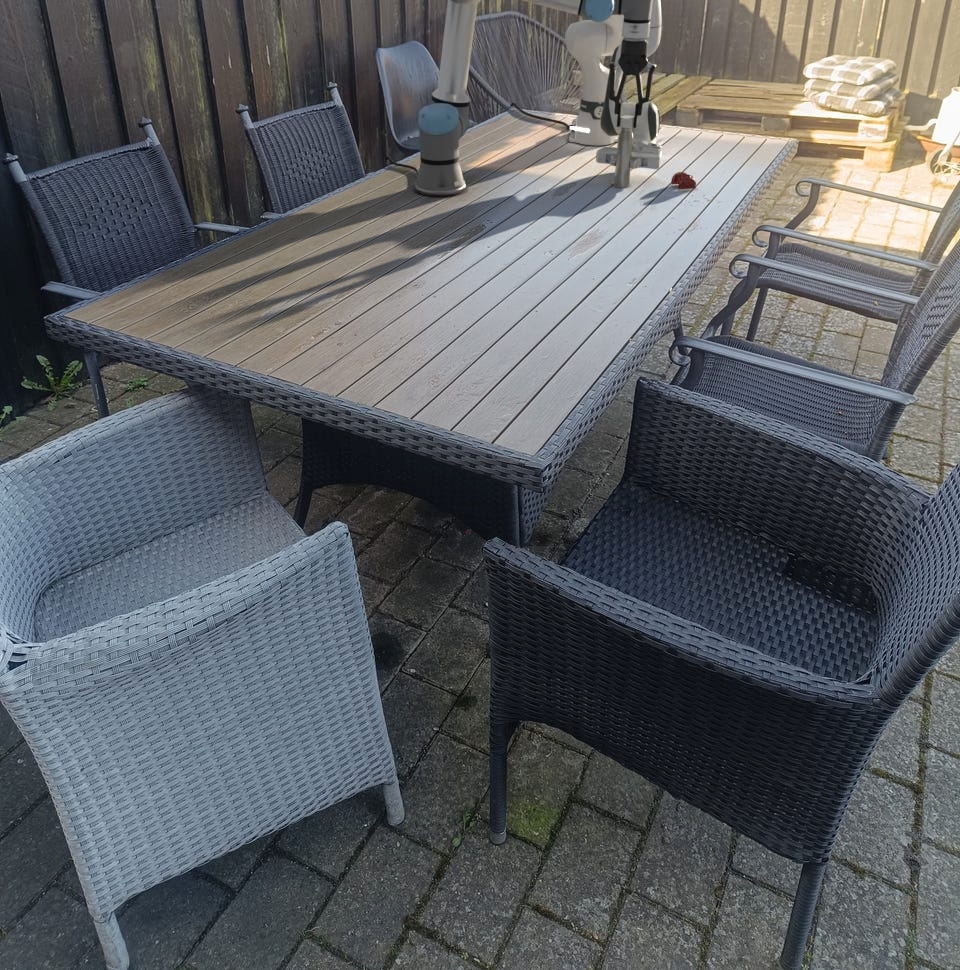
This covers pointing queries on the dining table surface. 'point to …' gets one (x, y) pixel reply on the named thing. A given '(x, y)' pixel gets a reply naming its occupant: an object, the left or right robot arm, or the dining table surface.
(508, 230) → the dining table surface
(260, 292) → the dining table surface
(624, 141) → the bottle
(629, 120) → the cap
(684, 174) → the dental model
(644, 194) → the dining table surface
